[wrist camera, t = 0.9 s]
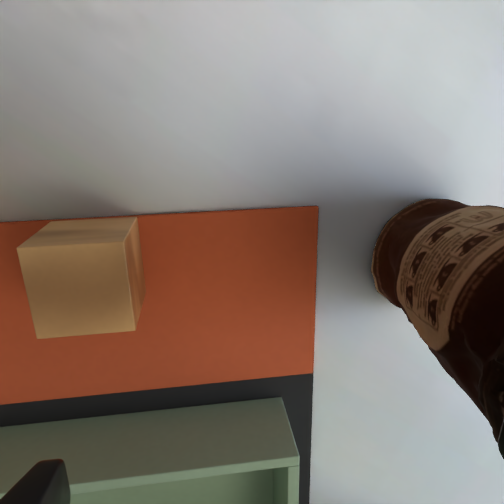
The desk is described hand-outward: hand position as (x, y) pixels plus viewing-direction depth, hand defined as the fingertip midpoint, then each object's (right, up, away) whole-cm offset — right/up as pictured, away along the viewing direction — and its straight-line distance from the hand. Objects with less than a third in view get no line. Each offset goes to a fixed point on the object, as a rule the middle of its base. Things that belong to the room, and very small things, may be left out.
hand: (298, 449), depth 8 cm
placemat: (-7, -6, +16) cm, 18 cm away
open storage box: (-7, -10, +17) cm, 21 cm away
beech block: (-8, +4, +12) cm, 15 cm away
